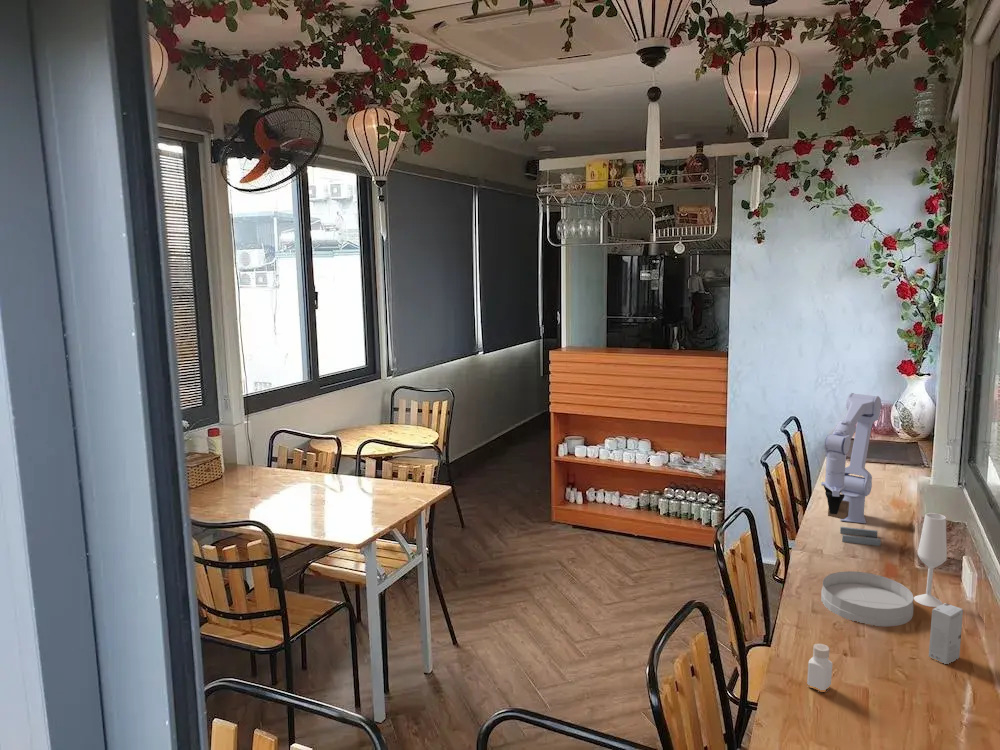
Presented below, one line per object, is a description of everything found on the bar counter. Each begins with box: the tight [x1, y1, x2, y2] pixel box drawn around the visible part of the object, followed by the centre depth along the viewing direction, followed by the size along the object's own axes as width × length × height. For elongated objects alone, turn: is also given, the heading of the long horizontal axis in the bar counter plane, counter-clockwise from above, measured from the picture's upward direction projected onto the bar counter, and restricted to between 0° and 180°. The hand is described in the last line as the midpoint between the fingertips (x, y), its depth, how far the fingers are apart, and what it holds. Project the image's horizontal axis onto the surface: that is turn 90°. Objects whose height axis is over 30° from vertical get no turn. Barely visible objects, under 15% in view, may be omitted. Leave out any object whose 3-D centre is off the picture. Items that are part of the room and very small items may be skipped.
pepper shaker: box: [806, 643, 833, 690], centre depth 160 cm, size 4×4×10 cm
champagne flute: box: [913, 512, 948, 608], centre depth 197 cm, size 7×7×24 cm
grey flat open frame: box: [839, 526, 881, 547], centre depth 241 cm, size 8×11×2 cm
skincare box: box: [928, 602, 964, 665], centre depth 171 cm, size 6×4×12 cm
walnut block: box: [827, 500, 849, 520], centre depth 242 cm, size 4×5×5 cm
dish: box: [820, 570, 914, 627], centre depth 197 cm, size 22×22×5 cm
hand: (832, 510), depth 243 cm, fingers closed on walnut block, 5 cm apart
